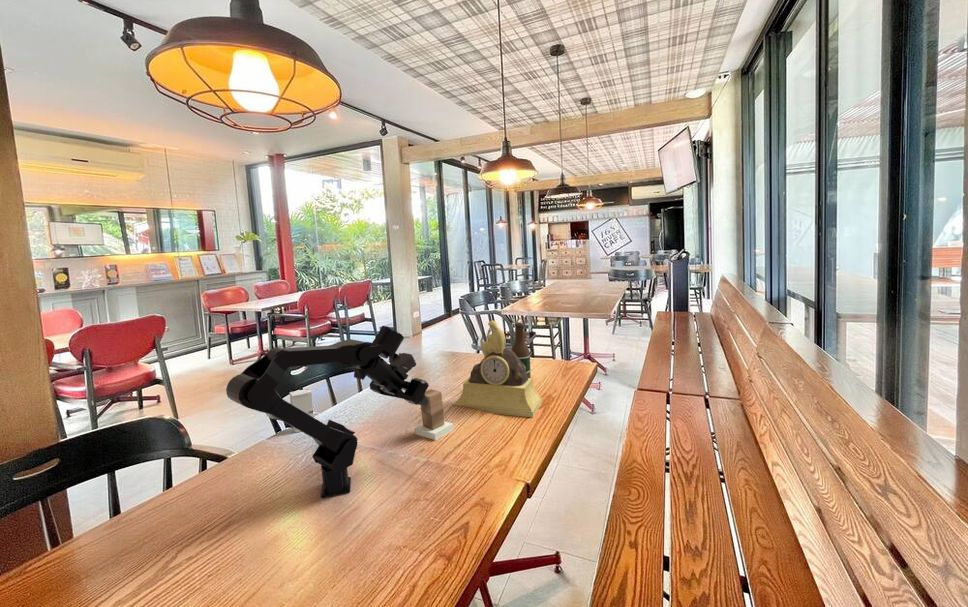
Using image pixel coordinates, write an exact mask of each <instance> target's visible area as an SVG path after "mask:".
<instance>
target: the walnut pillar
mask: <svg viewBox="0 0 968 607" xmlns="http://www.w3.org/2000/svg"><path fill="white" fill-rule="evenodd" d="M425 396H426V398H427V400H428V404H427V406H425V405H420V410H421V411H420V413H421V418H422V419H421V420H422V421H421V422H422V424H423V426H424V427H426V428H429V429H432V430H434V429H436V428H438V427H440V426H442V425H444V421H445V416H444V405H443V397H442V396H443V394H442V391H440V390H435V389H432V388H431V389H428V390H426V392H425Z"/></svg>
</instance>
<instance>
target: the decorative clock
mask: <svg viewBox="0 0 968 607" xmlns="http://www.w3.org/2000/svg"><path fill="white" fill-rule="evenodd" d="M488 327H489V328H488V330H487V334H486V339H487V340H486V341H485V340H484V341H482V342H481V343H480V345H481V351H482V355H483V356H484V358H483V359H482V360H481V361H480V362H479V363H477V364H474V365H473V367H472V370H471V372H470V375H469V378H468V379H466V380H465V381H464V382H463V383H462V386H463V387H462V392H461V394H460V396H459V398H458V399H457V400H455V401H454V402H453V403H452V405H453V406H459V407H467V408H471V409H475V410H477V411H481V412H485V413H489V414H496V415H504V416H505V415H506V416H513V415H514V417H516V416H517V417H523V418H532V419H533V418H534V417H535V415H536V413H537V412H538V410H539V408H540V407H541V405H542V404H543V401H542V400H543V398H542V397H541V396H540V395H539V393H538V392H537V391H536V388H535V387H534V382H533V381H534V379H533V378H528V377H527V374H526V366H525V365H524V364H523V363H522V362H521V361H520V360H519V358H518V357H517V356H516V354H515V353H514V352H513V351H512V350H511V349H512V348H511V349H510V347H506V345H507V341H506V340H507V339H506V336H505V335H506V334H505V333H504V331H503V330H502V329H501V328H500V327H499V326H498V324H497V322H496V321H495V320H490V321H489V322H488ZM490 333H491V335H490Z"/></svg>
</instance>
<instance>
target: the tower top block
mask: <svg viewBox="0 0 968 607" xmlns="http://www.w3.org/2000/svg"><path fill="white" fill-rule="evenodd" d="M452 431H454V423H452V422H449V421H445V420H444V425H442V426H440V427H438V428H436V429H434V430H432V429H429V428H426V427H424V426H423V423H420V424H419V425H417V426H415V427H414V433H415V435H418V436H420V437H424V438H427V439H430V440H432V441H437V440H439V439H440V438H442V437H443V436H445V435H447V434H449V433H451V432H452Z"/></svg>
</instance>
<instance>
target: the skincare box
mask: <svg viewBox="0 0 968 607" xmlns="http://www.w3.org/2000/svg"><path fill="white" fill-rule="evenodd" d="M312 392H313V391H311V390H310V388H307V389H297V390H295V391H290V392H289V401H290V402H289V403H290V404H292V405H293V406H295V407H297V408H298V409H300V410H302V411H303V412H305V413H307V414H308V415H310V416H312V417H313V418H315V417H314V407H313V406H314V405H313V403H314V402H313V394H312ZM292 429H293V432H294V433H295V432H296V433H299V432H301V431H300V430H298V429H296V428H294V427H292Z"/></svg>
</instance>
